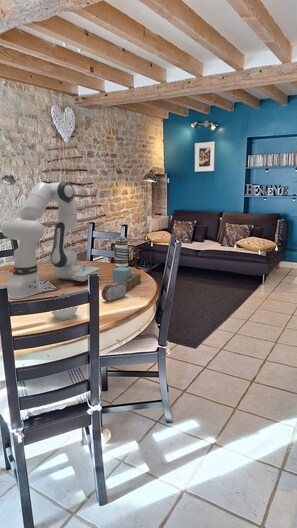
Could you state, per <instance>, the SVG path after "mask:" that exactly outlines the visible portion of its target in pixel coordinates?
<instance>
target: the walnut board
mask: <svg viewBox="0 0 297 528" xmlns="http://www.w3.org/2000/svg"><path fill="white" fill-rule="evenodd" d="M141 275H142V273H134V274H133V275H132V274H131V277H129V278H127V279H126V280H124V281H122V283H124V284H125V285H126V286H127V291H126V293H127V292H128V291H129V290H131V289H132V288H133V287H135V286H136V285H138V284H140V283H141V282H142V277H141Z"/></svg>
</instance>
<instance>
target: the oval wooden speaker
mask: <svg viewBox="0 0 297 528" xmlns="http://www.w3.org/2000/svg"><path fill="white" fill-rule="evenodd" d="M126 291H127V286H126V285H125V284H124V283H122V282H117V283H113V282H112V283H109V284H106V285H104V287H103V289H102V291H101V297H102V299H103V300H104V301H106V302H112V301H117V300H119V299H122V298H124V297H125V295H126V294H127V292H128V291H127V292H126Z"/></svg>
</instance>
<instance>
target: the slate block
mask: <svg viewBox="0 0 297 528" xmlns="http://www.w3.org/2000/svg"><path fill="white" fill-rule="evenodd" d="M131 276H132V268H131V267H128V268H126V267H117V268H116V267H115V268H114V269H112V283H117V282H122V281H124V280H126V279H127V278H129V277H131Z"/></svg>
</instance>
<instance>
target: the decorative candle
mask: <svg viewBox="0 0 297 528" xmlns="http://www.w3.org/2000/svg"><path fill="white" fill-rule="evenodd" d="M128 240H129V239H128V238H127V237H125V236H117V237H116V239H115V240H114V241H115V245H114V246H113V248H114V249H113V250H114V259H115V266H114V267H115V268H117V267H126V268H130V267H129V262H128V261H129V260H128V259H129V256H130V255H129V253H130V251H129V250H130V249H129V245H128Z"/></svg>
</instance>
